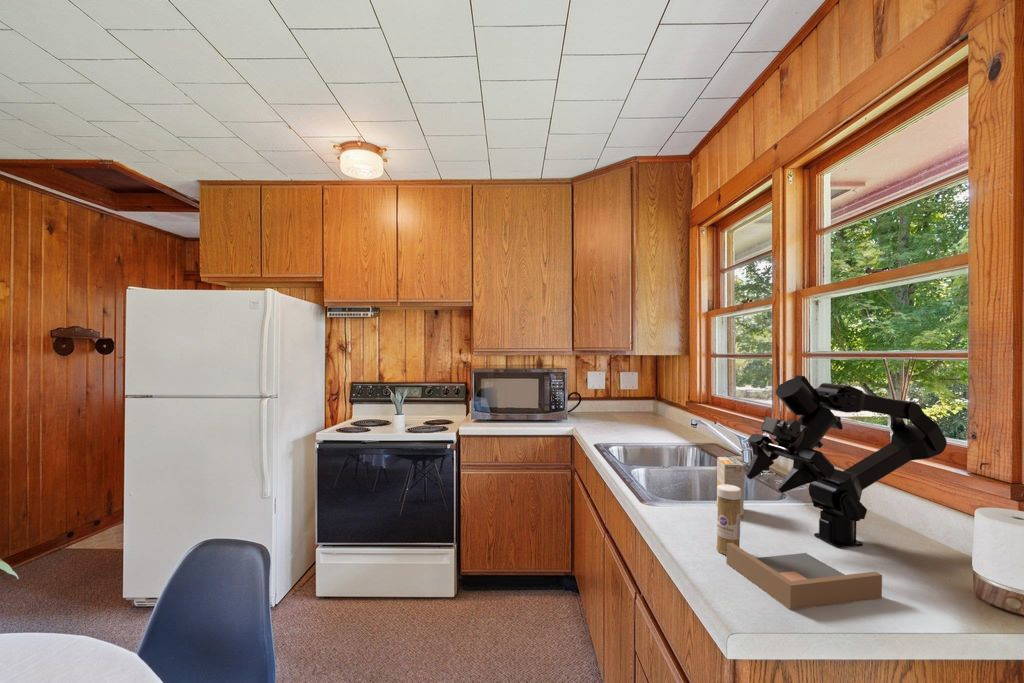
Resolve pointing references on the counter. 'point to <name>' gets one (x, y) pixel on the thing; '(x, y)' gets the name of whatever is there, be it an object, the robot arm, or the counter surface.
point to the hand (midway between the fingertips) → (763, 484)
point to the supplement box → (731, 475)
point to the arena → (803, 579)
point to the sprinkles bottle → (728, 516)
